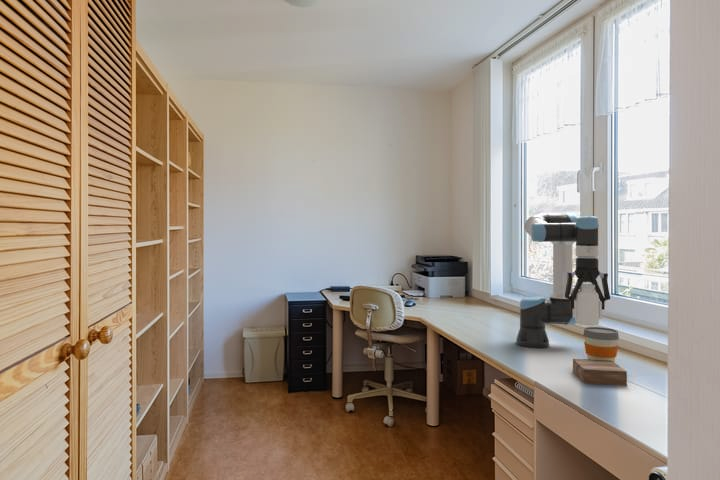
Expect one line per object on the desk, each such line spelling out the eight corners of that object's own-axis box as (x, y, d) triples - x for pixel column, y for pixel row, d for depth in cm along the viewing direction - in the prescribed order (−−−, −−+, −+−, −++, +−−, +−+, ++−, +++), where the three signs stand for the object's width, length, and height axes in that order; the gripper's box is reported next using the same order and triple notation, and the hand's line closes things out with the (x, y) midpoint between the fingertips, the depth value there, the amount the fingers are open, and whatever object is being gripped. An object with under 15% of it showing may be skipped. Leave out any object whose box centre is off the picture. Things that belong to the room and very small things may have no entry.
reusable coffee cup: (606, 373, 166) (606, 334, 166) (576, 364, 177) (576, 328, 177) (625, 368, 172) (625, 331, 172) (595, 360, 183) (595, 325, 183)
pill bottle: (597, 322, 163) (597, 283, 163) (600, 326, 156) (600, 285, 156) (574, 321, 166) (573, 282, 166) (576, 325, 159) (576, 284, 159)
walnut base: (572, 371, 168) (572, 358, 168) (611, 373, 166) (611, 360, 166) (584, 383, 155) (584, 369, 155) (626, 385, 152) (626, 371, 152)
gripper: (559, 257, 160) (559, 318, 160) (621, 258, 155) (621, 320, 155) (555, 256, 167) (555, 315, 167) (613, 257, 163) (613, 317, 162)
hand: (587, 317), depth 161 cm, fingers closed on pill bottle, 8 cm apart
